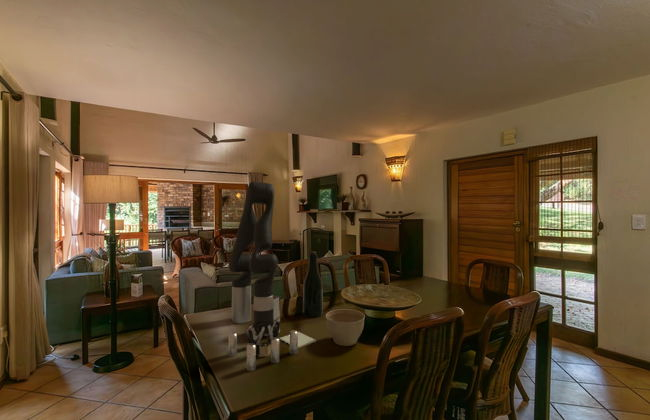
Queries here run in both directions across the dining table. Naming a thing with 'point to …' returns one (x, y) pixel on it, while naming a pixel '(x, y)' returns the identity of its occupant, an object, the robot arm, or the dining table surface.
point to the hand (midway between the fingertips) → (263, 351)
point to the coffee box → (276, 310)
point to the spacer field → (252, 348)
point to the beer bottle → (312, 290)
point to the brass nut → (264, 349)
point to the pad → (299, 340)
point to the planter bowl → (345, 326)
